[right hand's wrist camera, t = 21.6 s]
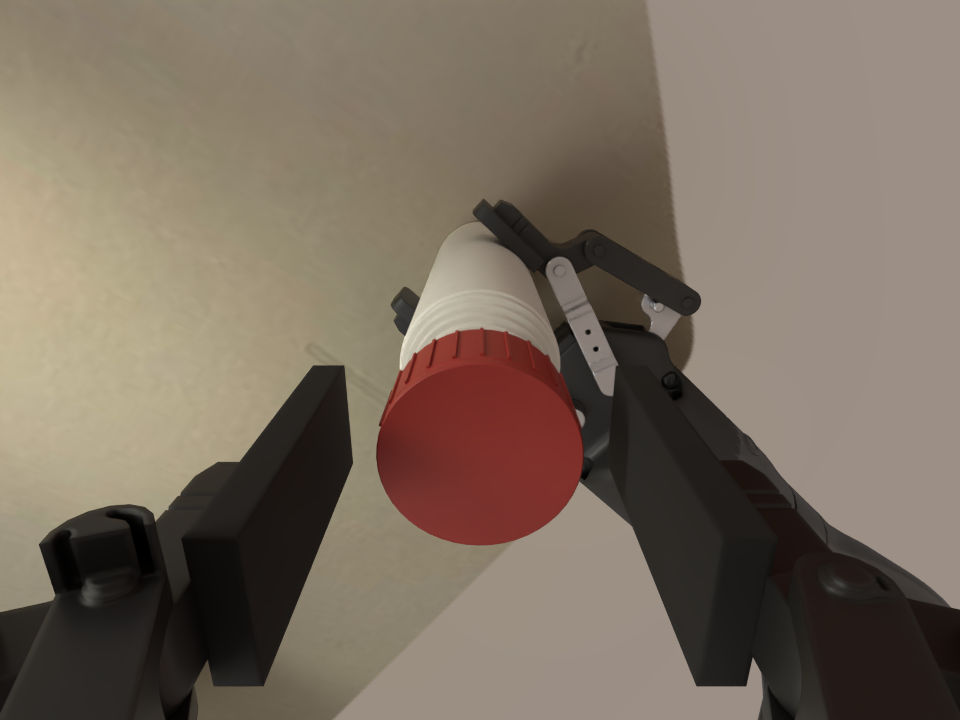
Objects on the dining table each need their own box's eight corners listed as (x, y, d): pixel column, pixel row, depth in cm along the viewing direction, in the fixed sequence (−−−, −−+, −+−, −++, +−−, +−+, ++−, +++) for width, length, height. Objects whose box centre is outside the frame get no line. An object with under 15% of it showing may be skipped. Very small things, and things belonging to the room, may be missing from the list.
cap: (563, 316, 14) (580, 349, 11) (574, 479, 15) (591, 537, 13) (376, 337, 14) (355, 373, 12) (405, 496, 15) (393, 556, 13)
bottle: (534, 234, 32) (619, 373, 12) (509, 316, 33) (549, 553, 14) (448, 210, 31) (398, 316, 12) (427, 294, 33) (352, 508, 14)
